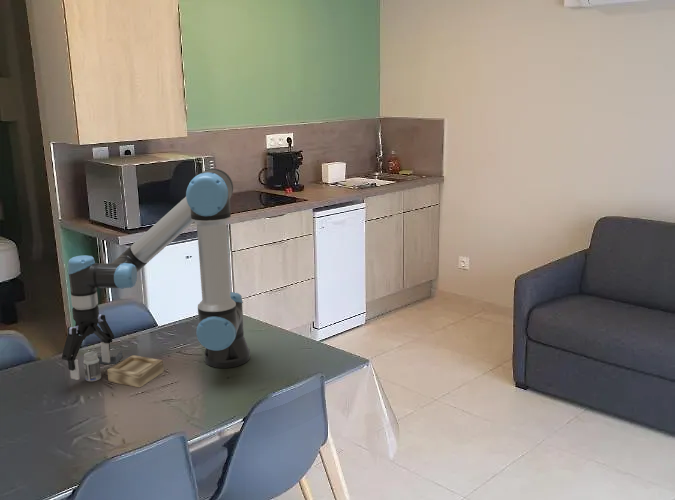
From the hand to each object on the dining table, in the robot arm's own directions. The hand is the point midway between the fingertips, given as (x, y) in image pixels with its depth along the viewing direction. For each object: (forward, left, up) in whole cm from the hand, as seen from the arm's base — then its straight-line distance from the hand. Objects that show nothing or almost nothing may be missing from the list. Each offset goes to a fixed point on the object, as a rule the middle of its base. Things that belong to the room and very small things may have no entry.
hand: (91, 370), depth 203 cm
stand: (-12, -6, -3) cm, 14 cm away
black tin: (+4, -13, -3) cm, 14 cm away
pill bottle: (0, 0, -3) cm, 3 cm away
